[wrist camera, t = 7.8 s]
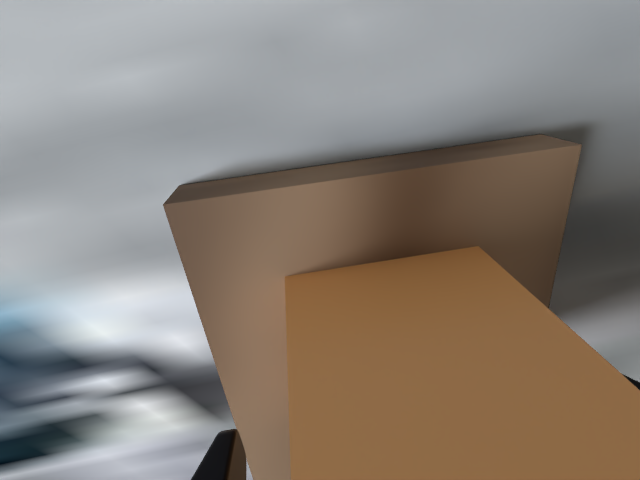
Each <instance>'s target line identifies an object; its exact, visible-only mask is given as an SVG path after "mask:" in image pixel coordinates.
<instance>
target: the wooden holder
mask: <svg viewBox="0 0 640 480" xmlns="http://www.w3.org/2000/svg"><path fill="white" fill-rule="evenodd" d="M581 146H582V144H578V143H574V142H570V141H566V140H562V139H558V138H554V137H550V136H546V135H542V134H539V135H532V136H525V137H518V138H511V139H504V140H497V141H490V142H483V143H475V144H468V145H461V146H454V147H447V148H440V149H433V150H426V151H419V152H412V153H405V154H398V155H391V156H384V157H377V158H370V159H363V160H356V161H348V162H341V163H334V164H327V165H320V166H313V167H306V168H299V169H292V170H285V171H278V172H271V173H264V174H257V175H250V176H243V177H236V178H229V179H222V180H214V181H207V182H200V183H193V184H186V185H179V186H178V188H177V189H176V190H175V191H174V192H173V194H172V195H171V196H170V197H169V198H168V199H167V201H166V202H165V203H164V204H163V206H164V209H165V212H166V215H167V218H168V222H169V225H170V228H171V231H172V234H173V237H174V240H175V243H176V246H177V249H178V252H179V255H180V258H181V261H182V264H183V267H184V270H185V273H186V276H187V279H188V282H189V285H190V288H191V291H192V294H193V297H194V300H195V304H196V307H197V310H198V313H199V316H200V319H201V322H202V325H203V328H204V331H205V334H206V337H207V340H208V343H209V346H210V349H211V352H212V355H213V358H214V361H215V364H216V367H217V370H218V373H219V376H220V379H221V383H222V386H223V389H224V392H225V395H226V398H227V401H228V404H229V407H230V410H231V413H232V416H233V419H234V422H235V425H236V428H237V430H238V432H239V434H240V437H241V440H242V443H243V446H244V449H245V453H246V458H247V461H248V465H249V468H250V471H251V474H252V477H253V480H291V468H290V435H289V402H288V369H287V336H286V303H285V276H291V275H298V274H304V273H310V272H317V271H323V270H329V269H336V268H342V267H348V266H355V265H361V264H368V263H374V262H380V261H387V260H393V259H399V258H406V257H412V256H418V255H425V254H431V253H437V252H444V251H450V250H456V249H463V248H469V247H475V246H479V247H480V248H481V249H482V250H483V251H484V252H485V253H487V254H488V255H489V256H490V257H491V258H492V259H493V260H494V261H496V262H497V263H498V264H499V265H500V266H501V267H502V268H503V269H505V270H506V271H507V272H508V273H509V274H510V275H511V276H512V277H513V278H515V279H516V280H517V281H518V282H519V283H520V284H521V285H522V286H524V287H525V288H526V289H527V290H528V291H529V292H530V293H531V294H533V295H534V296H535V297H536V298H537V299H538V300H539V301H540V302H542V303H543V304H544V305H545V306H546V307H547V308H549V303H550V298H551V293H552V289H553V284H554V279H555V274H556V269H557V264H558V259H559V254H560V249H561V244H562V240H563V235H564V230H565V225H566V220H567V215H568V210H569V205H570V200H571V195H572V191H573V186H574V181H575V176H576V171H577V166H578V161H579V156H580V151H581Z"/></svg>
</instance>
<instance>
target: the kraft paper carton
mask: <svg viewBox="0 0 640 480" xmlns="http://www.w3.org/2000/svg"><path fill="white" fill-rule="evenodd" d="M285 303H286V336H287V369H288V402H289V435H290V468H291V480H640V390H639V389H638V388H637V387H636V386H634V385H633V384H632V383H631V382H630V381H629V380H628V379H627V378H626V377H624V376H623V375H622V374H621V373H620V372H619V371H618V370H617V369H615V368H614V367H613V366H612V365H611V364H610V363H609V362H608V361H606V360H605V359H604V358H603V357H602V356H601V355H600V354H599V353H598V352H596V351H595V350H594V349H593V348H592V347H591V346H590V345H589V344H587V343H586V342H585V341H584V340H583V339H582V338H581V337H580V336H578V335H577V334H576V333H575V332H574V331H573V330H572V329H571V328H570V327H568V326H567V325H566V324H565V323H564V322H563V321H562V320H561V319H559V318H558V317H557V316H556V315H555V314H554V313H553V312H552V311H550V310H549V309H548V308H547V307H546V306H545V305H544V304H543V303H542V302H540V301H539V300H538V299H537V298H536V297H535V296H534V295H533V294H531V293H530V292H529V291H528V290H527V289H526V288H525V287H524V286H522V285H521V284H520V283H519V282H518V281H517V280H516V279H515V278H513V277H512V276H511V275H510V274H509V273H508V272H507V271H506V270H505V269H503V268H502V267H501V266H500V265H499V264H498V263H497V262H496V261H494V260H493V259H492V258H491V257H490V256H489V255H488V254H487V253H485V252H484V251H483V250H482V249H481V248H480V247H479V246H475V247H469V248H463V249H456V250H450V251H444V252H437V253H431V254H425V255H418V256H412V257H406V258H399V259H393V260H387V261H380V262H374V263H368V264H361V265H355V266H348V267H342V268H336V269H329V270H323V271H317V272H310V273H304V274H298V275H291V276H285Z"/></svg>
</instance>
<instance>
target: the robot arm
mask: <svg viewBox="0 0 640 480" xmlns="http://www.w3.org/2000/svg"><path fill="white" fill-rule="evenodd" d="M622 375H623V374H622ZM623 376H624V377H626V378H627V379H628V380H629V381H630V382H631V383H632V384H633V385H634V386H636V387H637V388H638V389H639V390H640V382H638V381H635V380H633V379H631V378H629V377H627V376H625V375H623ZM191 480H246V453H245V449H244V446H243V443H242V440H241V437H240V434H239V432H238V430H237V429H231V430H225V431H221V432H220V433H218V434H217V436H216V438H215V439H214V441H213V443H212V445H211V446H210V448H209V450H208V451H207V453H206V455H205V457H204V458H203V460H202V462H201V463H200V465H199V467H198V469H197V470H196V472H195V474H194V475H193V477H192V479H191Z"/></svg>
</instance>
